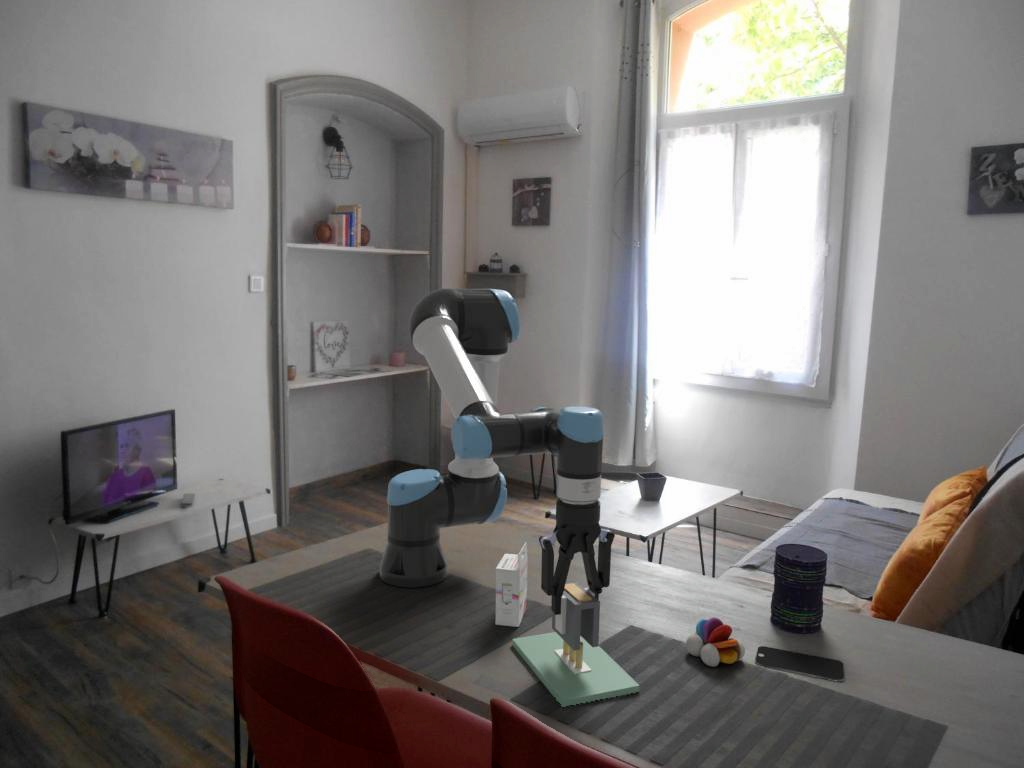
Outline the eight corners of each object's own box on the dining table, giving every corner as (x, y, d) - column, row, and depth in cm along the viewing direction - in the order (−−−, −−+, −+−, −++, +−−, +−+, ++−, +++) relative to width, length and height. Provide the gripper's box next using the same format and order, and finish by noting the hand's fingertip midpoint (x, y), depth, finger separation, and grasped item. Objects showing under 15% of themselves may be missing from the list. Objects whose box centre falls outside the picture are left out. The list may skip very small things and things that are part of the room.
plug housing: (551, 628, 139) (553, 583, 138) (575, 624, 141) (576, 580, 140) (573, 650, 131) (575, 603, 130) (598, 646, 133) (600, 599, 132)
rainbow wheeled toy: (714, 675, 136) (717, 635, 135) (678, 650, 145) (680, 613, 144) (750, 664, 140) (753, 626, 139) (713, 641, 149) (716, 605, 147)
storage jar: (778, 608, 163) (783, 540, 161) (827, 621, 158) (833, 550, 156) (762, 625, 155) (768, 553, 153) (814, 640, 150) (820, 565, 147)
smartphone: (757, 644, 147) (844, 660, 141) (757, 648, 147) (844, 664, 141) (754, 663, 140) (845, 681, 134) (753, 667, 140) (844, 685, 134)
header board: (512, 645, 145) (512, 616, 144) (580, 633, 150) (581, 605, 149) (562, 707, 125) (563, 674, 124) (639, 692, 130) (640, 660, 129)
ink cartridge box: (503, 606, 161) (504, 538, 159) (526, 609, 160) (528, 540, 158) (493, 625, 153) (495, 553, 151) (518, 628, 152) (520, 555, 150)
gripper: (539, 509, 126) (536, 646, 129) (635, 500, 133) (629, 630, 136) (521, 497, 133) (519, 626, 136) (613, 488, 139) (608, 612, 143)
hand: (574, 628), depth 136 cm, fingers closed on plug housing, 5 cm apart
